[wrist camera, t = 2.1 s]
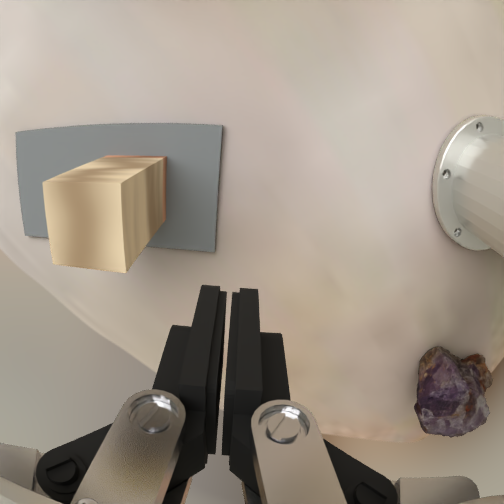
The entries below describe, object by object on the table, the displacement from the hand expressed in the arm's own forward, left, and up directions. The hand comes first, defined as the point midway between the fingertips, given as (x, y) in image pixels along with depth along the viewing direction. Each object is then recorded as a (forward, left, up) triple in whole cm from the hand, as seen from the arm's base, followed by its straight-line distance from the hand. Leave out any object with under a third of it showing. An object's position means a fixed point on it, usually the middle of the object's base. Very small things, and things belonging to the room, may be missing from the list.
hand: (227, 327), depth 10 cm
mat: (+12, 0, -16) cm, 20 cm away
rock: (-26, +19, -17) cm, 36 cm away
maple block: (+9, 0, -16) cm, 18 cm away
